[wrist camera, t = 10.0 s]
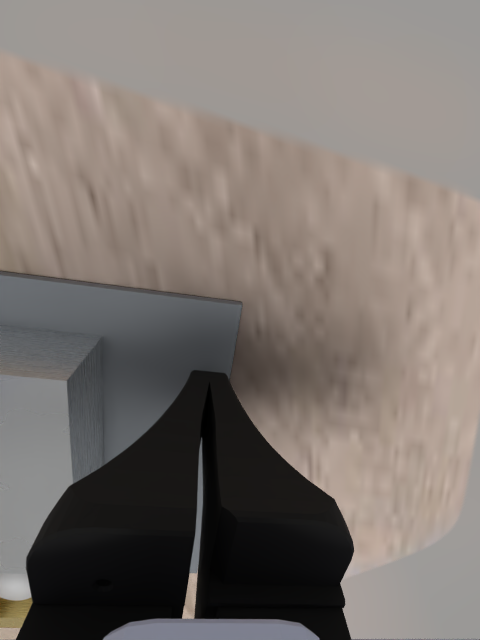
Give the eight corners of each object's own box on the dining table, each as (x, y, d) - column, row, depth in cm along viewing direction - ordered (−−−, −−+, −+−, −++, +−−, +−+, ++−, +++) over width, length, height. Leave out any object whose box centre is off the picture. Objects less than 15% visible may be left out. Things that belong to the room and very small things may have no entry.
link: (104, 555, 17) (81, 628, 14) (9, 552, 16) (-34, 627, 13) (102, 335, 12) (66, 380, 9) (-36, 320, 11) (-119, 363, 8)
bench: (-120, 557, 17) (-193, 636, 14) (-276, 236, 10) (-482, 257, 7) (197, 565, 19) (192, 636, 16) (241, 301, 12) (248, 339, 9)
